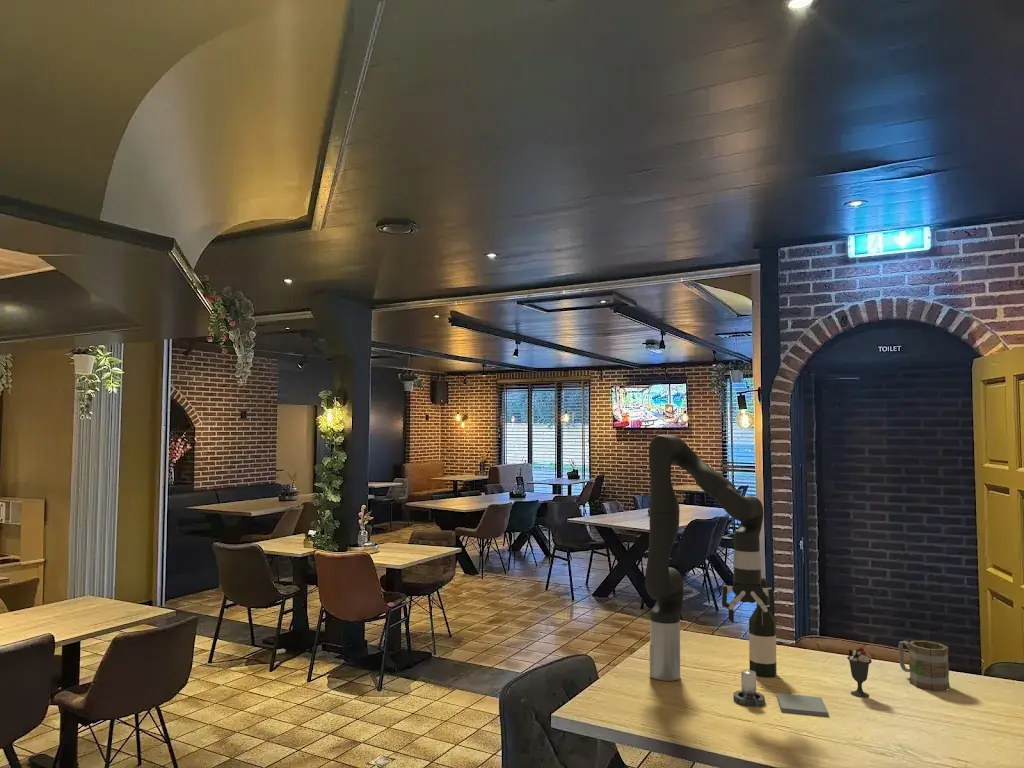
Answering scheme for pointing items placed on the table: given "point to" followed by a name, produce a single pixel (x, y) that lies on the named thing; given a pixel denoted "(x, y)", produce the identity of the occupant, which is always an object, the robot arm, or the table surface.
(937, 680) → the mug
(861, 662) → the sundae
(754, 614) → the wine bottle
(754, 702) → the metal eye
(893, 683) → the table surface
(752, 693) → the cylinder
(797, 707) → the slate mat
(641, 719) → the table surface
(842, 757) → the table surface
